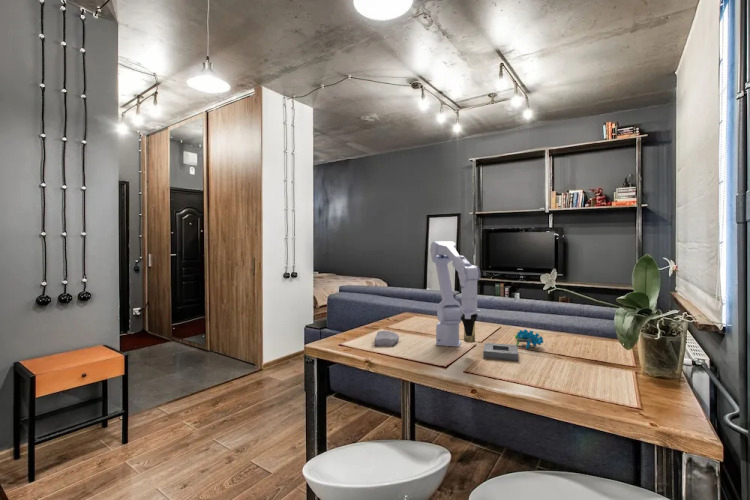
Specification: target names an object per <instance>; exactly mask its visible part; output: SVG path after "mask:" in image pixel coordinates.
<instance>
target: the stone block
mask: <svg viewBox="0 0 750 500" xmlns="http://www.w3.org/2000/svg"><path fill="white" fill-rule="evenodd" d="M399 339H400V337H399V334H398V333H397V332H394V331H390V330H379V331H377V333H376V335H375V337H374V345H375V346H376V347H393V346H394V345H396V344H397V343H398V342H399Z"/></svg>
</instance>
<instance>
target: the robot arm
mask: <svg viewBox="0 0 750 500" xmlns="http://www.w3.org/2000/svg"><path fill="white" fill-rule="evenodd" d="M429 249H430V250H429V251H430V256H431V260H432V261H431V262H433V263H434V264H435V268H436V274H437V279H438V285H439V290H440V296H441V301H439V303H438V304H437V305H436V312H437V313H436V316H437V320H438V322H437V323H436V327H435V328H436V329H435V335H436V336H435V338H436V339H435V341H436V342H435V346H445V347H457V348H459V347H460V346H461V343H462V340H460V324H461V323H462V324H463V330H464V329H465V334H466V336H472V333H473V327H474V323H475V324H476V321H477V318H478V316H479V314H480V313H481V312H482V311H481V310H480V309H478V281H480V278H481V270H480V267H479V266H478V265H473V264H471V262H469V260H468V259H467V258H466V257H465V255H460V254H459V252H458V251H457V245H456V242H454V240H453V241H452V240H450V241H436V240H434V241H432V242H431V244H430V248H429ZM449 263H451V264H452V266H453V268H454V269H455V270H456V272H457V273H458V274H457V275H458V279H459V284H460V285H459V286H460V287H461V294H460V295H461V302H459V301H458V300H457V299H455V298H454V297H455V296H454V292H453V286H452V281H451V278H450V273H449V272H450V271H449V267H448V264H449ZM478 313H479V314H478Z"/></svg>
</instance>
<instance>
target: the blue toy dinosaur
mask: <svg viewBox="0 0 750 500" xmlns="http://www.w3.org/2000/svg"><path fill="white" fill-rule="evenodd" d="M514 339H516V344H515V345H517V347H519V343H526V345H525V349H527V350H529V348H530V345H531V344H532V346H537V345H538V346H541V344H544V337H542V336H540V334H539V333H538V332H535V334H534V331H533V330H529V331H528V330H527V329H524V330H521V329H519V331H518V332H517V333H516V334H515V335H514Z"/></svg>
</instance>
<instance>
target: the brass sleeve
mask: <svg viewBox="0 0 750 500" xmlns="http://www.w3.org/2000/svg"><path fill="white" fill-rule="evenodd" d="M463 342H464V343H469V344H470V343H471V344H472V343H476V322H475V323H474V327H473V333H472V336H466V334H465V329H464V328H463Z"/></svg>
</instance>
